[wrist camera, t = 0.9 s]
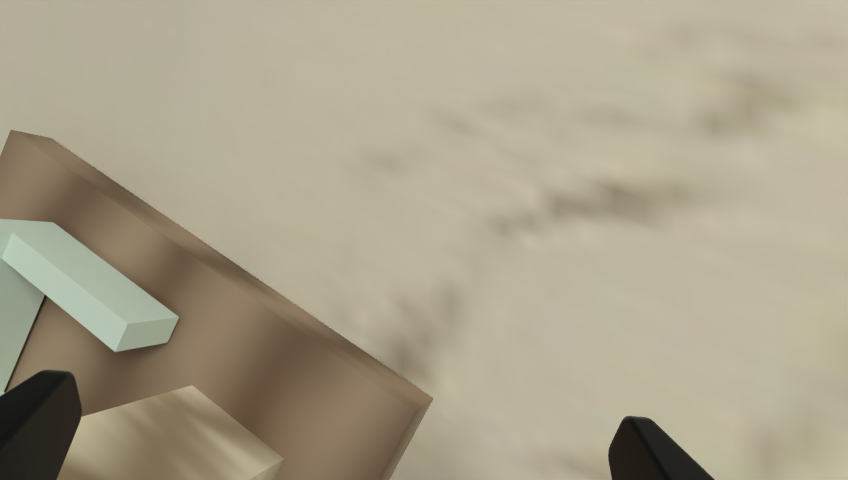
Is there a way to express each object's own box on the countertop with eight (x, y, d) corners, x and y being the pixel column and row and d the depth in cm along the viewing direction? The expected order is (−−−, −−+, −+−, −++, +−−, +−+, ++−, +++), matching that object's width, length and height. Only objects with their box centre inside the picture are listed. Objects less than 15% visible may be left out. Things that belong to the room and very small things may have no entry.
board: (433, 398, 22) (371, 442, 16) (277, 683, 23) (178, 803, 18) (51, 138, 29) (-75, 112, 24) (-45, 371, 31) (-180, 394, 26)
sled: (179, 317, 23) (63, 331, 18) (90, 507, 24) (-40, 567, 20) (53, 222, 26) (-77, 213, 21) (-21, 398, 27) (-159, 428, 22)
